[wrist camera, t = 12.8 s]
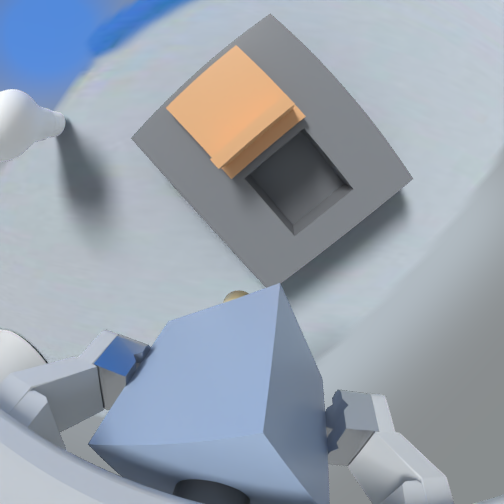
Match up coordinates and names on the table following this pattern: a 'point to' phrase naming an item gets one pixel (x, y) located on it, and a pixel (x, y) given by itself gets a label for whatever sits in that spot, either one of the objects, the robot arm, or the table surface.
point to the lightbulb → (24, 123)
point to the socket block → (283, 164)
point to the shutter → (235, 111)
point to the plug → (224, 409)
